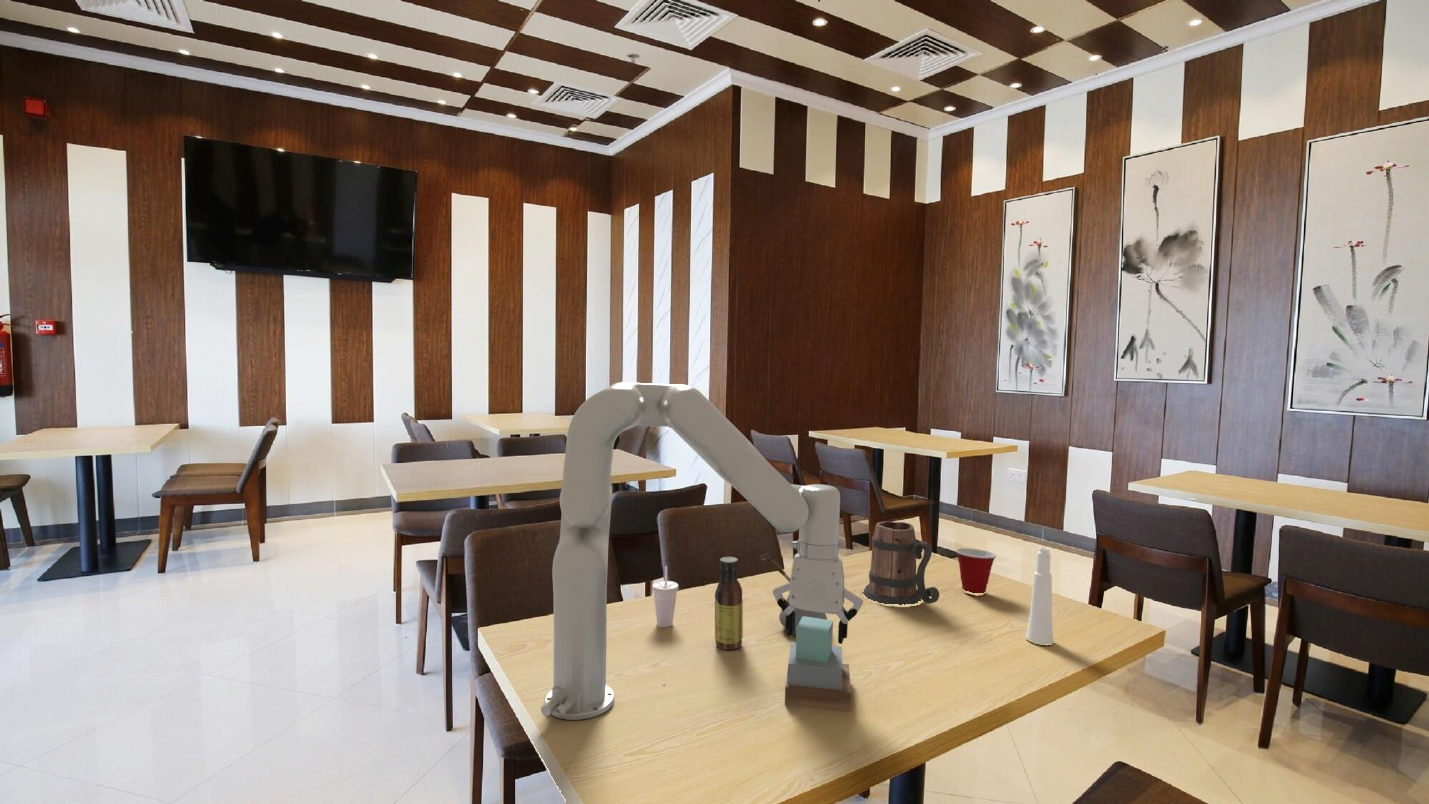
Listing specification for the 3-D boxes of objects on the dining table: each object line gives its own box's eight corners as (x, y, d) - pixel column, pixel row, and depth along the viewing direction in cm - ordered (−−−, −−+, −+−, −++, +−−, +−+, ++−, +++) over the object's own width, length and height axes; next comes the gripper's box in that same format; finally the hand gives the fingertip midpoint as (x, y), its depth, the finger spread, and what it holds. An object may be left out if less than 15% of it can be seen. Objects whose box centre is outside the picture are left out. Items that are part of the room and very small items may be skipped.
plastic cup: (997, 591, 190) (999, 549, 189) (991, 602, 180) (993, 558, 180) (958, 583, 195) (959, 543, 195) (949, 594, 186) (951, 552, 185)
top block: (841, 690, 123) (842, 669, 123) (787, 684, 125) (788, 663, 124) (841, 666, 133) (841, 646, 133) (790, 661, 135) (791, 641, 134)
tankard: (848, 592, 186) (850, 521, 185) (891, 583, 195) (893, 515, 194) (912, 620, 166) (915, 541, 165) (957, 609, 175) (961, 534, 174)
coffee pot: (837, 633, 158) (839, 570, 157) (800, 643, 151) (802, 579, 150) (779, 605, 175) (780, 549, 174) (744, 613, 169) (745, 555, 168)
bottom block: (850, 714, 122) (851, 693, 122) (784, 707, 124) (785, 686, 124) (848, 683, 134) (848, 664, 134) (788, 677, 136) (788, 658, 136)
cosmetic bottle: (1024, 643, 154) (1029, 549, 153) (1025, 633, 159) (1030, 543, 158) (1053, 648, 151) (1058, 553, 150) (1054, 639, 157) (1058, 547, 155)
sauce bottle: (726, 637, 154) (728, 552, 153) (748, 644, 150) (750, 558, 149) (708, 646, 149) (709, 558, 148) (730, 654, 145) (732, 564, 144)
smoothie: (679, 619, 164) (680, 564, 163) (675, 630, 157) (676, 572, 157) (654, 618, 164) (655, 562, 164) (649, 628, 158) (649, 570, 157)
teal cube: (827, 663, 125) (828, 632, 125) (795, 658, 127) (796, 627, 127) (832, 650, 131) (833, 620, 130) (801, 645, 133) (802, 616, 132)
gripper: (769, 550, 127) (767, 638, 128) (862, 560, 121) (859, 652, 122) (778, 540, 134) (776, 623, 135) (866, 549, 128) (863, 636, 129)
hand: (815, 637), depth 129 cm, fingers open, 9 cm apart
